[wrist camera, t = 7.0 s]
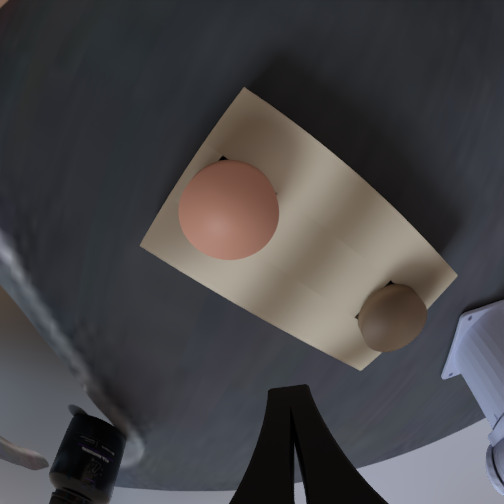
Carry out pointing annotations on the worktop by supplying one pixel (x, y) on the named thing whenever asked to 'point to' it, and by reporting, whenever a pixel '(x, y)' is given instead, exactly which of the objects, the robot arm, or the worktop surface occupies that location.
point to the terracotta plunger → (229, 210)
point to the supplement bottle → (87, 462)
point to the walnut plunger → (392, 317)
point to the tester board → (304, 236)
